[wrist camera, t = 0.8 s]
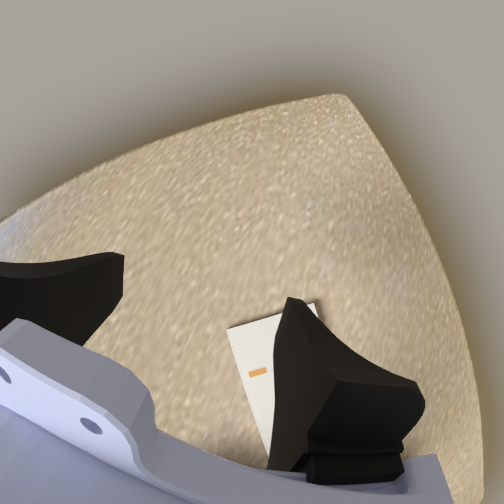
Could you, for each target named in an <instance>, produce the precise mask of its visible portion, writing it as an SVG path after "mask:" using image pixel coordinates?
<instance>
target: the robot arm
mask: <svg viewBox="0 0 504 504" xmlns="http://www.w3.org/2000/svg"><path fill="white" fill-rule="evenodd" d="M123 272H124V255H121V254H118V253H114V252H105V253H98V254H93V255H88V256H83V257H78V258H72V259H67V260H61V261H54V262H45V263H8V262H0V504H454V502H453V499H452V496H451V493H450V490H449V488H448V485H447V482H446V479H445V476H444V474H443V471H442V468H441V466H440V463H439V460H438V458H437V455H436V454H429V455H423V456H415V457H410V458H407V459H405V460H403V461H402V460H401V457H400V454H399V453H402V452H403V450H404V447H403V444H402V440H403V439H404V438H405V436H406V435H407V434H408V433H409V432H410V431H411V430H412V428H413V427H414V426H415V425H416V424H417V422H418V421H419V419H420V418H421V416H422V415H423V412H424V409H425V399H424V397H423V395H422V393H421V391H420V389H419V387H418V385H417V383H416V382H415V381H412V380H409V379H406V378H404V377H401V376H398V375H396V374H393V373H391V372H389V371H387V370H385V369H383V368H381V367H379V366H377V365H375V364H373V363H371V362H370V361H368V360H367V359H365V358H363V357H362V356H360V355H359V354H357V353H356V352H354V351H353V350H352V349H350V348H349V347H348V346H347V345H345V344H344V343H343V342H342V341H340V340H339V339H338V338H337V337H336V336H335V335H334V334H333V333H332V332H331V331H330V330H329V329H328V328H327V327H326V326H325V325H324V324H323V323H322V322H321V321H320V320H319V318H318V317H317V316H316V315H315V314H314V313H313V311H312V310H311V309H310V308H309V307H308V306H307V305H306V303H305V302H304V301H303V300H300V299H295V298H291V297H288V298H287V301H286V304H285V307H284V310H283V313H282V316H281V319H280V322H279V325H278V328H277V331H276V334H275V339H274V349H273V371H274V392H275V407H274V418H273V428H272V437H271V445H270V452H269V459H268V466H267V470H266V469H258V468H251V467H248V466H245V465H242V464H239V463H236V462H233V461H230V460H228V459H225V458H222V457H220V456H217V455H215V454H212V453H210V452H207V451H205V450H202V449H200V448H198V447H195V446H193V445H191V444H189V443H186V442H184V441H182V440H180V439H178V438H176V437H174V436H172V435H170V434H167V433H165V432H164V431H162V430H160V429H158V428H156V424H155V406H154V403H153V400H152V398H151V395H150V392H149V390H148V388H147V387H146V386H145V385H144V384H143V383H142V382H141V381H140V380H139V379H138V378H137V376H136V375H135V374H134V373H133V372H132V371H131V370H129V369H128V368H126V367H124V366H122V365H121V364H119V363H117V362H116V361H114V360H112V359H111V358H108V357H105V356H103V355H101V354H98V353H96V352H93V351H91V350H89V349H86V348H84V347H82V346H83V345H84V344H85V343H86V341H87V340H88V339H89V338H90V337H91V336H92V334H93V333H94V332H95V331H96V330H97V329H98V328H99V327H100V325H101V324H102V323H103V322H104V321H105V320H106V319H107V317H108V316H109V315H110V314H111V313H112V312H113V310H114V309H115V307H116V306H117V304H118V303H119V301H120V299H121V298H122V296H123Z"/></svg>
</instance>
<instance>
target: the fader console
mask: <svg viewBox="0 0 504 504" xmlns="http://www.w3.org/2000/svg"><path fill="white" fill-rule="evenodd" d="M307 306H308V307H309V308H310V309H311V310H312V311H313V313H314V314H315V315H316V316H317V317H318V315H317V312H316V308H315V305H314V303H311V304H308V305H307ZM281 316H282V313H280V314H277V315H274V316H270V317H267V318H264V319H260V320H257V321H254V322H250V323H247V324H243V325H240V326H236V327H233V328H229V329H226V330H227V334H228V337H229V340H230V344H231V347H232V350H233V353H234V357H235V360H236V363H237V366H238V369H239V372H240V376H241V379H242V382H243V385H244V388H245V391H246V394H247V397H248V400H249V403H250V406H251V409H252V412H253V415H254V418H255V421H256V424H257V427H258V429H259V432H260V435H261V438H262V441H263V444H264V446H265V449H266V452H267V455H268V457H269V452H270V445H271V437H272V428H273V418H274V407H275V392H274V371H273V349H274V339H275V334H276V331H277V328H278V325H279V322H280V319H281Z"/></svg>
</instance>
